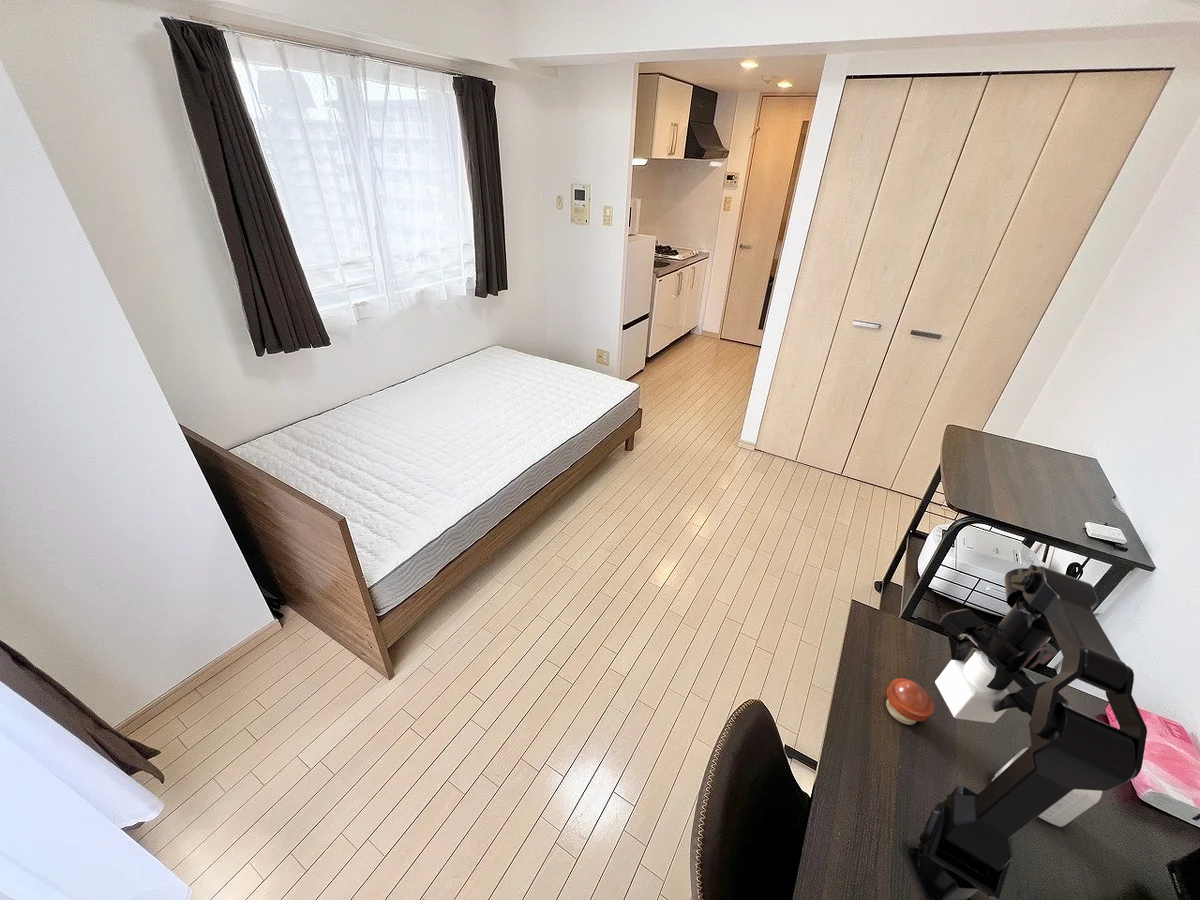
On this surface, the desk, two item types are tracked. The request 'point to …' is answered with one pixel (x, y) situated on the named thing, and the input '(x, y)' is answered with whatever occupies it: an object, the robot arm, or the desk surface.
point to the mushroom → (908, 701)
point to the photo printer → (1064, 802)
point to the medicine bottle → (974, 688)
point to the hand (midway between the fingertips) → (974, 687)
